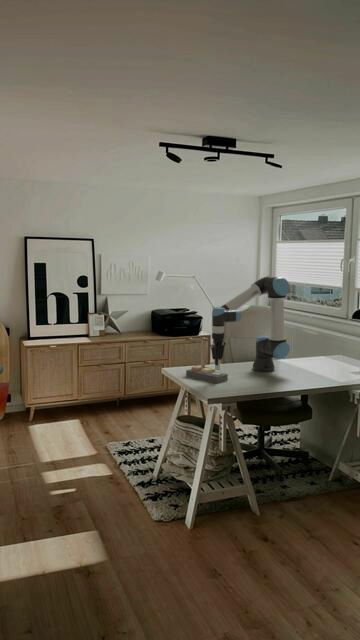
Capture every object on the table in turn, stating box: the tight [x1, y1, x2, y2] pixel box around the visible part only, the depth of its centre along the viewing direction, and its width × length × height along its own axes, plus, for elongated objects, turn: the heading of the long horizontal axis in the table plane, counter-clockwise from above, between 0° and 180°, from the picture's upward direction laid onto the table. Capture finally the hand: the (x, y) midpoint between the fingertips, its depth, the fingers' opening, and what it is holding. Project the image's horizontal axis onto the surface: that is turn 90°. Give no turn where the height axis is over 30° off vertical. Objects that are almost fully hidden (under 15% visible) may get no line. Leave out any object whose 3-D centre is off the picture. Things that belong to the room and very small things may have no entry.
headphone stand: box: [200, 337, 216, 372], centre depth 355 cm, size 10×11×22 cm
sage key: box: [211, 371, 223, 376], centre depth 330 cm, size 5×5×3 cm
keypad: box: [185, 368, 229, 384], centre depth 335 cm, size 25×11×4 cm, turn 48°
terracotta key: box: [191, 365, 203, 372], centre depth 340 cm, size 5×5×3 cm
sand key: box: [201, 367, 213, 374], centre depth 335 cm, size 5×5×3 cm
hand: (217, 369), depth 329 cm, fingers closed
